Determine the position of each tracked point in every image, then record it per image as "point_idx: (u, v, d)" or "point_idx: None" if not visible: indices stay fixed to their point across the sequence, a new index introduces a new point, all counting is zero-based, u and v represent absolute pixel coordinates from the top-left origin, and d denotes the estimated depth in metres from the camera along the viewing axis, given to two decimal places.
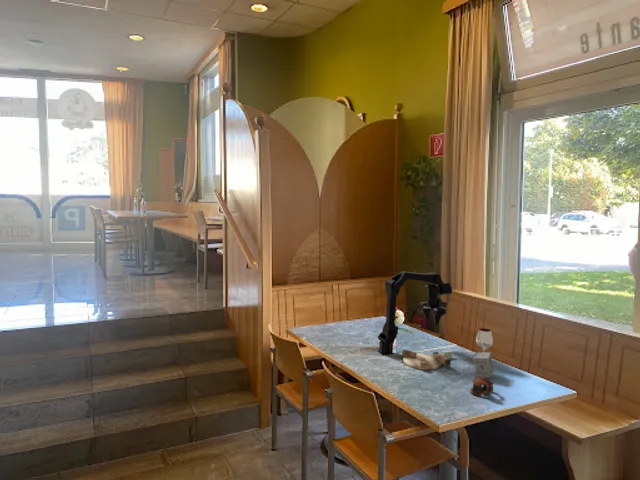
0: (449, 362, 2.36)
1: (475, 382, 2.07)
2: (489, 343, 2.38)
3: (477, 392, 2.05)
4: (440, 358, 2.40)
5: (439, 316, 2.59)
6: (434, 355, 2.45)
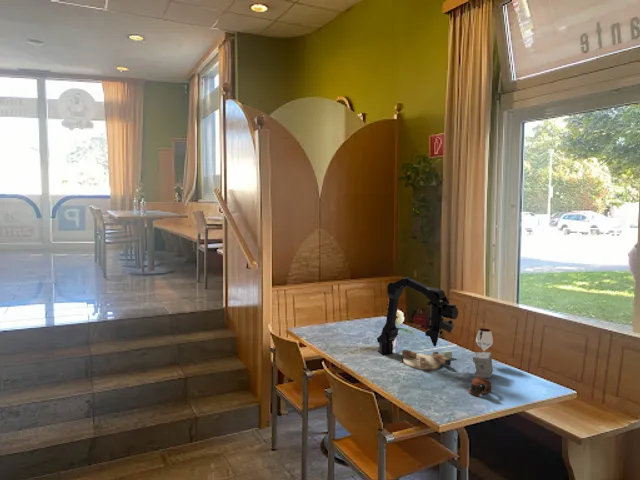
0: (449, 362, 2.36)
1: (473, 382, 2.07)
2: (489, 343, 2.38)
3: (476, 392, 2.05)
4: (440, 358, 2.40)
5: (436, 336, 2.33)
6: (434, 355, 2.45)
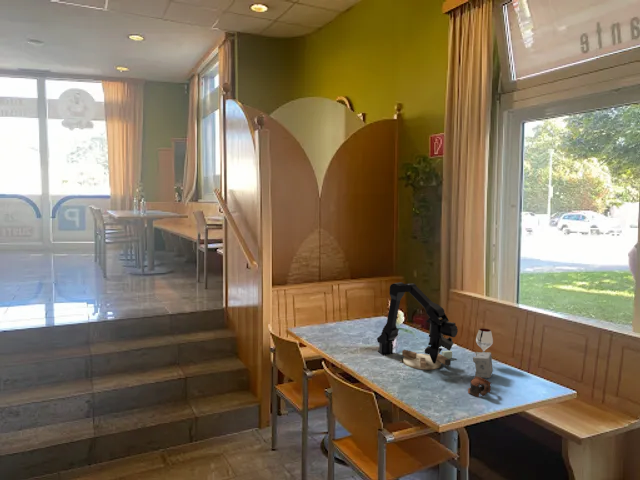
0: (449, 362, 2.36)
1: (473, 382, 2.07)
2: (489, 343, 2.38)
3: (475, 392, 2.05)
4: (440, 358, 2.40)
5: None
6: None
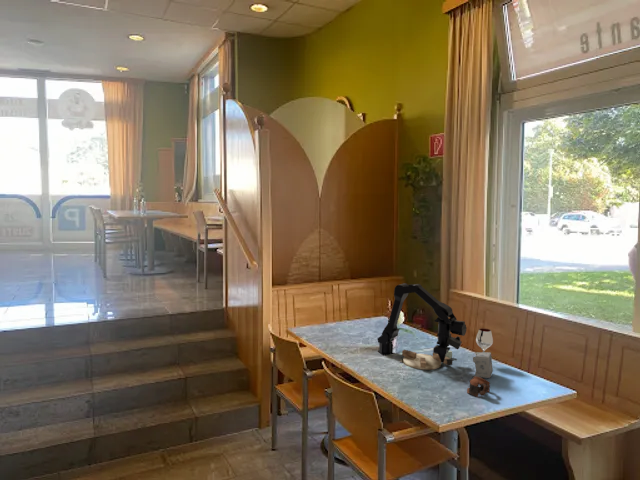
0: (451, 362, 2.37)
1: (472, 382, 2.07)
2: (489, 343, 2.38)
3: (474, 392, 2.05)
4: None
5: None
6: (434, 355, 2.45)
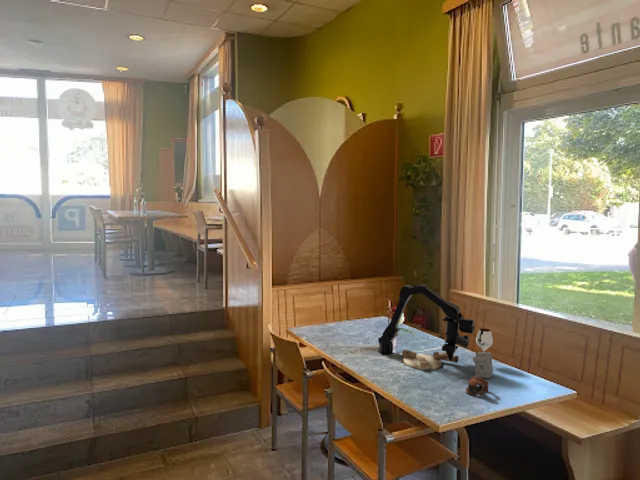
0: None
1: (470, 382, 2.07)
2: (489, 343, 2.38)
3: (473, 392, 2.05)
4: (446, 357, 2.42)
5: (452, 351, 2.38)
6: (436, 355, 2.45)
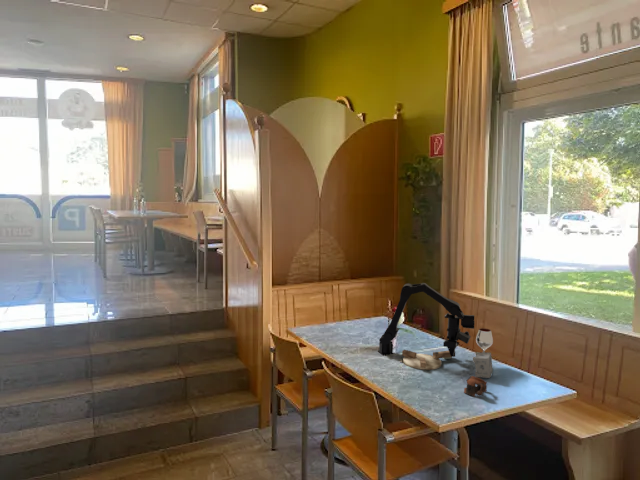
0: None
1: (469, 382, 2.07)
2: (489, 343, 2.38)
3: (471, 391, 2.05)
4: (446, 353, 2.47)
5: None
6: (438, 355, 2.45)
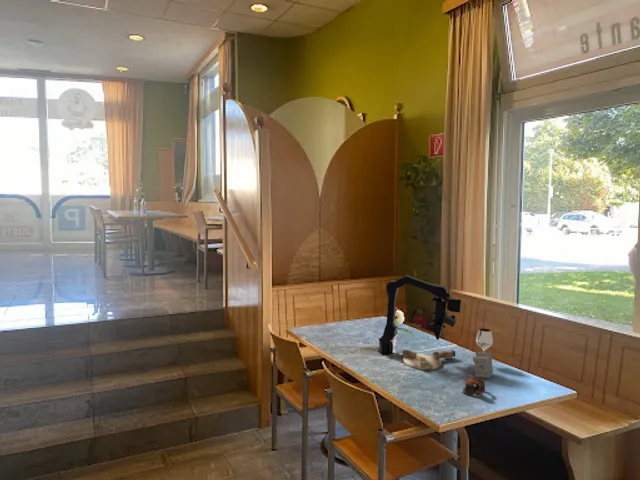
0: None
1: (467, 382, 2.07)
2: (489, 343, 2.38)
3: (470, 391, 2.05)
4: (446, 353, 2.47)
5: (439, 330, 2.44)
6: (438, 355, 2.45)
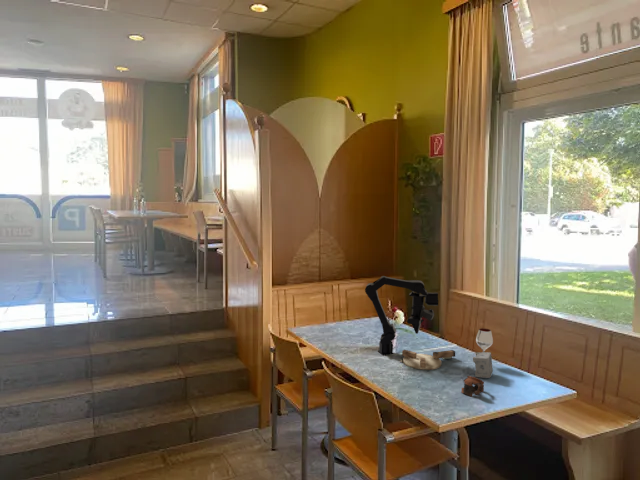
0: None
1: (466, 382, 2.07)
2: (489, 343, 2.38)
3: (469, 391, 2.05)
4: (446, 353, 2.47)
5: (417, 324, 2.52)
6: (438, 355, 2.45)
